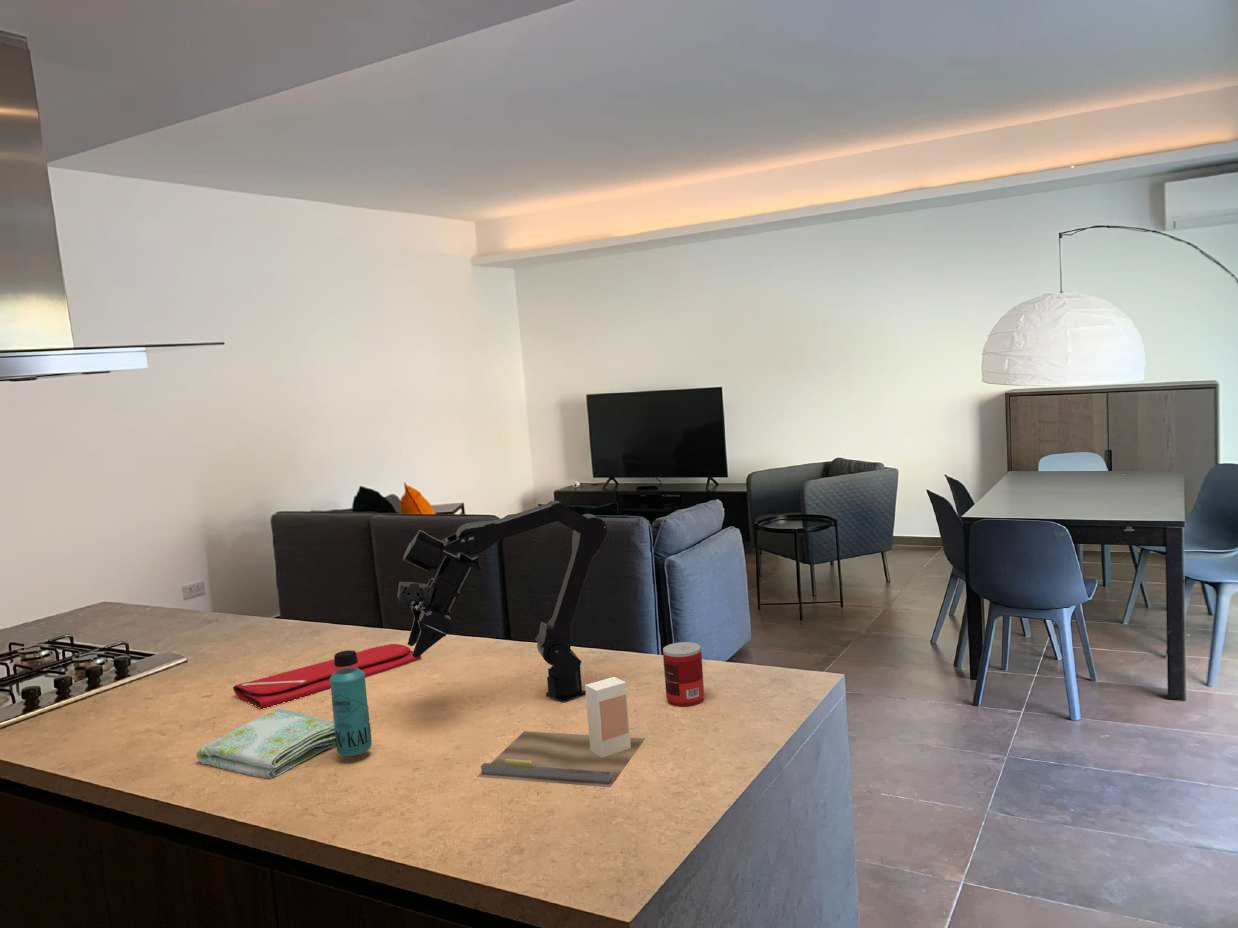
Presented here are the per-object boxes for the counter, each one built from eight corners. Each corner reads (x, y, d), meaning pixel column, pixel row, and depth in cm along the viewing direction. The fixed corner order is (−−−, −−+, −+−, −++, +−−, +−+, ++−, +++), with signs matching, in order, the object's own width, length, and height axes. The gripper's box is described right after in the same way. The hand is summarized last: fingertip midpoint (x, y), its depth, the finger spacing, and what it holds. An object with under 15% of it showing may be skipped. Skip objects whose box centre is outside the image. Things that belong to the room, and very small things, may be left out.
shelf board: (524, 736, 170) (524, 731, 170) (645, 743, 163) (645, 738, 163) (477, 782, 152) (476, 776, 152) (610, 792, 144) (610, 786, 144)
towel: (272, 783, 159) (269, 755, 158) (196, 765, 169) (192, 739, 169) (349, 743, 175) (346, 718, 174) (275, 729, 185) (272, 705, 185)
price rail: (485, 770, 154) (484, 756, 154) (612, 779, 147) (611, 765, 147) (481, 774, 153) (480, 760, 152) (609, 784, 145) (608, 769, 145)
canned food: (709, 694, 185) (706, 642, 184) (696, 708, 178) (692, 654, 177) (675, 691, 188) (671, 640, 187) (660, 705, 181) (656, 652, 180)
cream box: (590, 750, 159) (585, 684, 158) (619, 741, 162) (614, 676, 161) (602, 757, 156) (597, 690, 154) (631, 748, 159) (626, 682, 158)
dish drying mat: (422, 661, 225) (421, 646, 224) (262, 713, 196) (260, 696, 196) (389, 651, 236) (388, 637, 236) (233, 698, 207) (231, 682, 207)
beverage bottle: (341, 751, 170) (330, 648, 168) (376, 747, 170) (366, 645, 168) (333, 766, 163) (321, 659, 161) (370, 762, 164) (359, 655, 162)
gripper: (407, 557, 189) (372, 624, 187) (417, 572, 171) (378, 646, 170) (455, 579, 192) (420, 645, 191) (469, 596, 175) (431, 669, 173)
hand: (412, 650), depth 181 cm, fingers open, 9 cm apart
